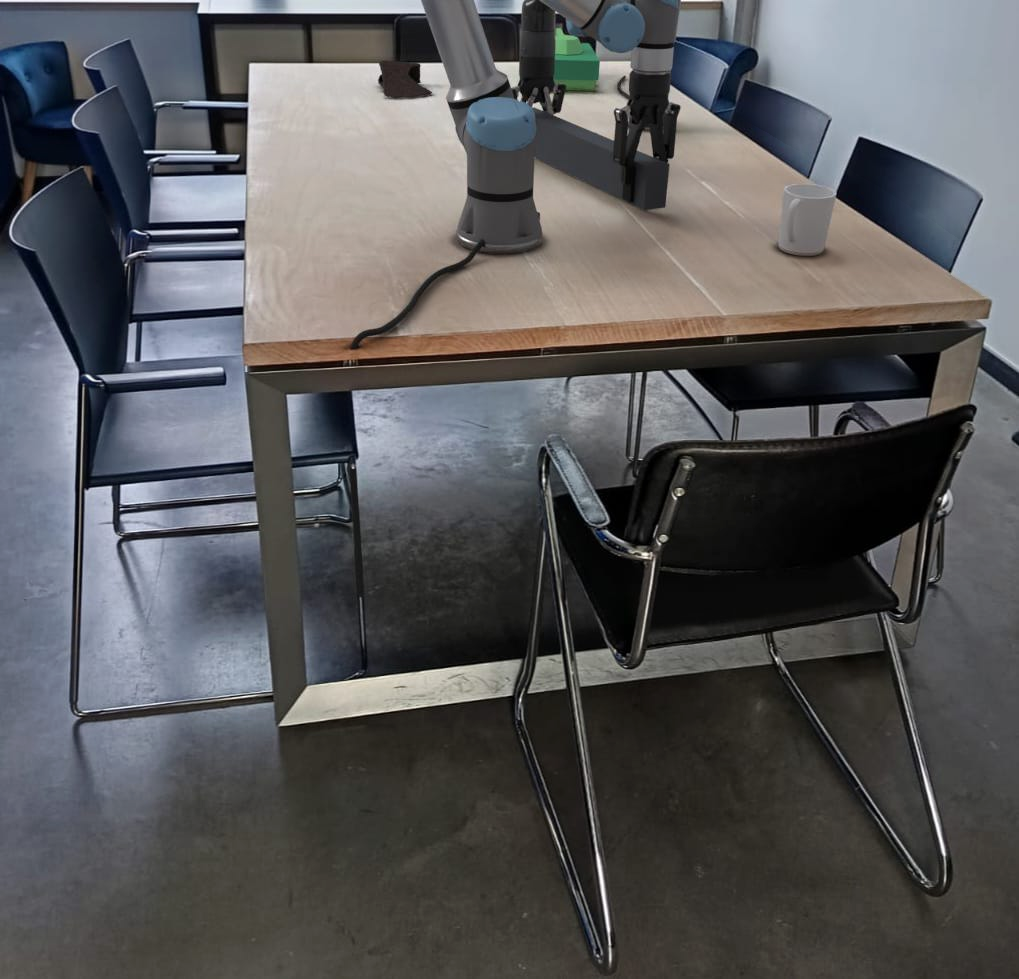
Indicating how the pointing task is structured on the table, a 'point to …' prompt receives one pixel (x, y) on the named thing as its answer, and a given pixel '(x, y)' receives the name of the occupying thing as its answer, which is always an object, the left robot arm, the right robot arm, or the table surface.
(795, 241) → the mug
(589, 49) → the toy tank
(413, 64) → the axe head
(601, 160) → the beam
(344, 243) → the table surface
